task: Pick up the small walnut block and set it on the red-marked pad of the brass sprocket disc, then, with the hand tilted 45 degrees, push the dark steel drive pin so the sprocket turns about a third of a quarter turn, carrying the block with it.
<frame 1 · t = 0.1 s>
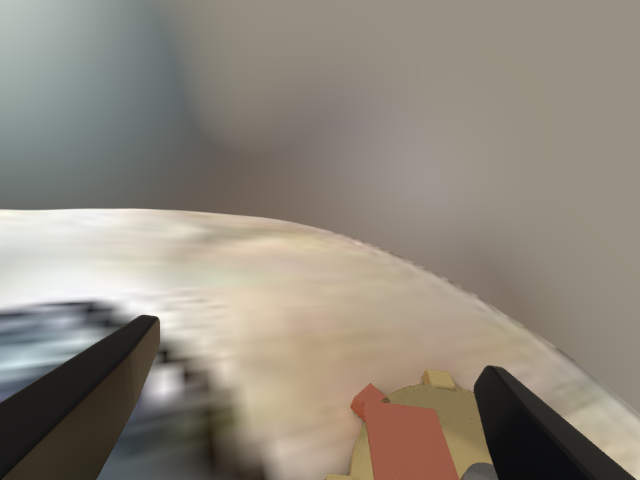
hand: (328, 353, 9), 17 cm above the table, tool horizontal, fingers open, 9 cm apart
sprocket: (521, 477, 19), point 5 cm above the table, hinge at 0.0°
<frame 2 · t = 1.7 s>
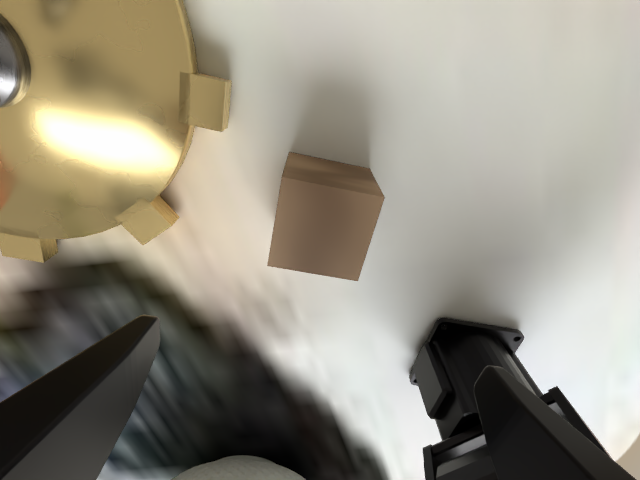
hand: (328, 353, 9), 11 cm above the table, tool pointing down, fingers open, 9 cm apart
cereal bowl: (247, 475, 33), on the table
block: (321, 198, 19), on the table
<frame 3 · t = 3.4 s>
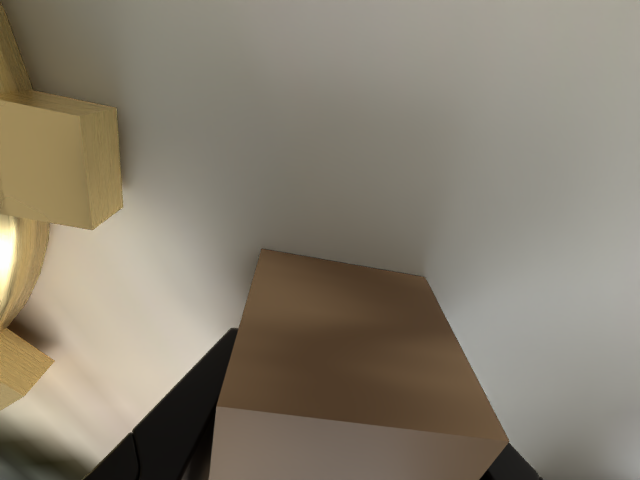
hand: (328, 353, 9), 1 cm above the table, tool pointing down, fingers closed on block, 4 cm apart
block: (327, 326, 10), on the table, touching gripper
when the fingers open (4 cm above the table, at t = 6.9 s): block drops 1 cm, resting on sprocket.
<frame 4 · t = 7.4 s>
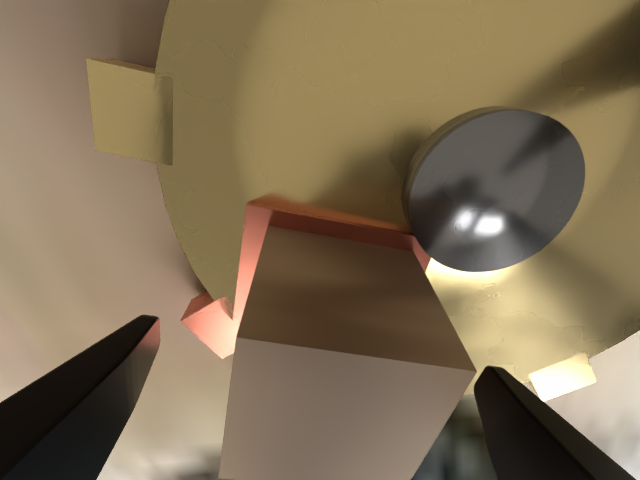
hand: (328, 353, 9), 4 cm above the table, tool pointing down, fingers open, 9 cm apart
sprocket: (563, 252, 6), point 5 cm above the table, hinge at 0.0°, touching block
block: (326, 297, 11), point 2 cm above the table, touching sprocket
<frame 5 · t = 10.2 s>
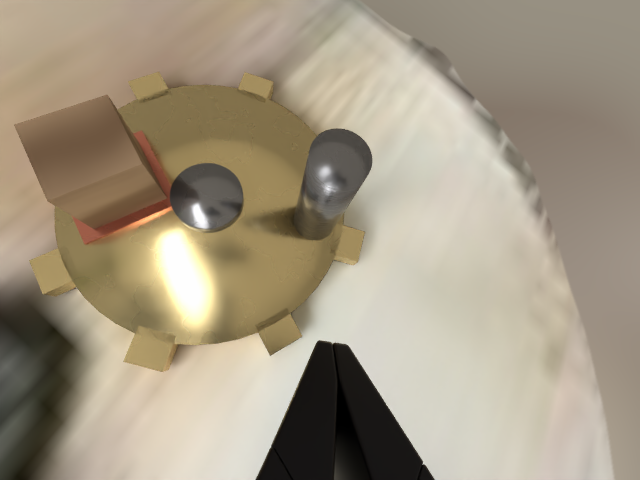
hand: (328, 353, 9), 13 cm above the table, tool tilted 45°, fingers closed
sprocket: (198, 175, 18), point 5 cm above the table, hinge at 0.0°, touching block
block: (117, 183, 21), point 2 cm above the table, touching sprocket
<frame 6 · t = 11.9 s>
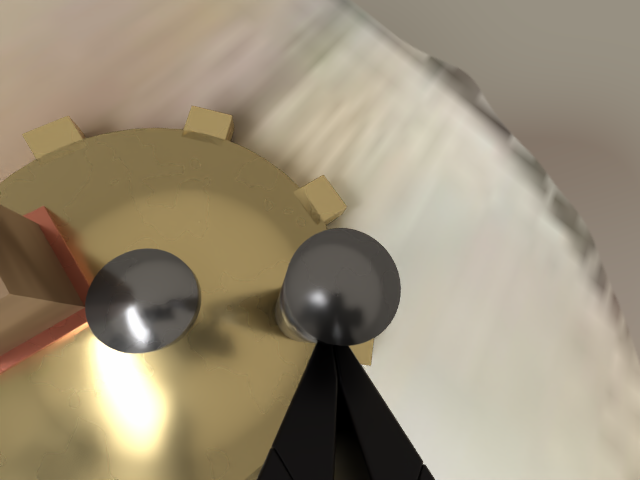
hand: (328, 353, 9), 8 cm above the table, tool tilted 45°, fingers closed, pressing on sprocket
sprocket: (116, 290, 12), point 5 cm above the table, hinge at 4.8°, touching block, gripper
block: (6, 293, 14), point 2 cm above the table, touching sprocket
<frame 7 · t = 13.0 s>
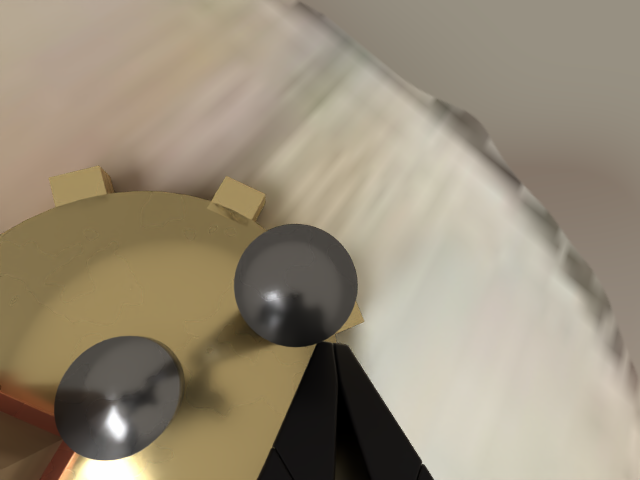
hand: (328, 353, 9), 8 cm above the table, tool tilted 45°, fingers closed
sprocket: (82, 409, 10), point 5 cm above the table, hinge at 36.7°, touching block
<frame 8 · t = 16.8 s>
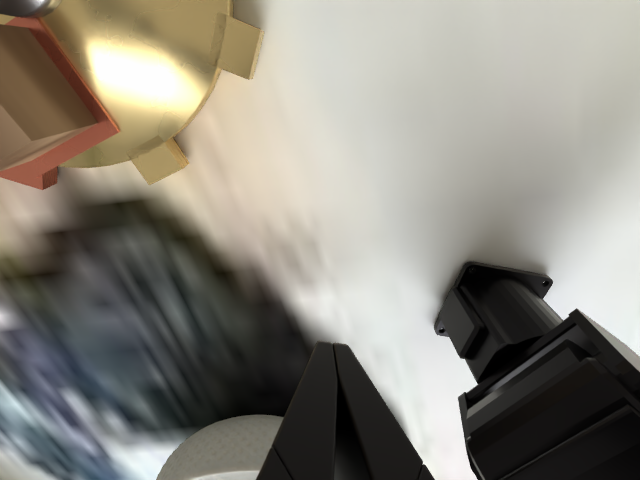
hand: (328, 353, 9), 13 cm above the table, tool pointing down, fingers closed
cereal bowl: (265, 438, 33), on the table
block: (30, 99, 16), point 2 cm above the table, touching sprocket
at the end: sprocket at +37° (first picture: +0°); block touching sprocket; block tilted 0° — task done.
